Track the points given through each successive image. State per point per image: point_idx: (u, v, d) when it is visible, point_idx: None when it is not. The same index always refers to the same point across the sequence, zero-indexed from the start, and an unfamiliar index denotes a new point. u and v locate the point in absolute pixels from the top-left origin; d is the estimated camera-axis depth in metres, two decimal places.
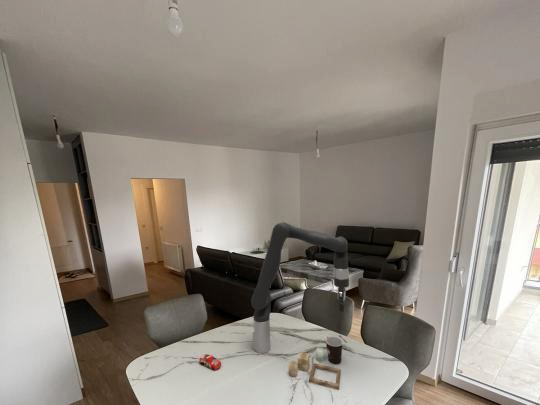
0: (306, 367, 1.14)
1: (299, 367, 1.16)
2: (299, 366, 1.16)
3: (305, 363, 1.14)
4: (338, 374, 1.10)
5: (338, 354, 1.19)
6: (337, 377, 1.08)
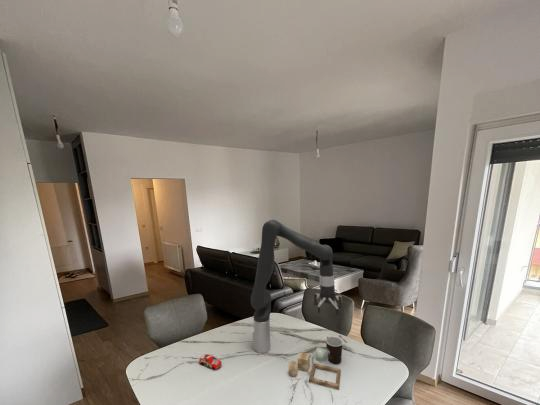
0: (306, 367, 1.14)
1: (299, 367, 1.16)
2: (299, 366, 1.16)
3: (305, 363, 1.14)
4: (338, 374, 1.10)
5: (338, 354, 1.19)
6: (337, 377, 1.08)
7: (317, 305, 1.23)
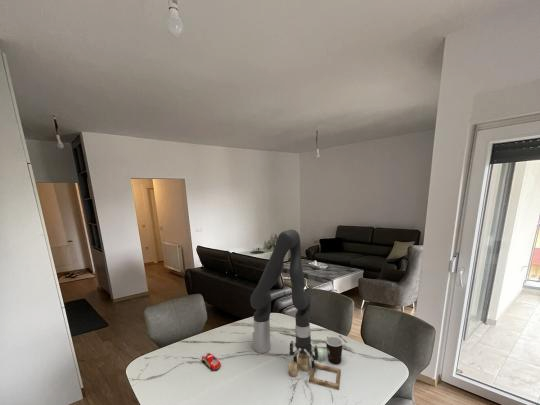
0: (306, 367, 1.14)
1: (299, 367, 1.16)
2: (299, 366, 1.16)
3: (305, 363, 1.14)
4: (338, 374, 1.10)
5: (338, 354, 1.19)
6: (337, 377, 1.08)
7: (293, 355, 1.18)
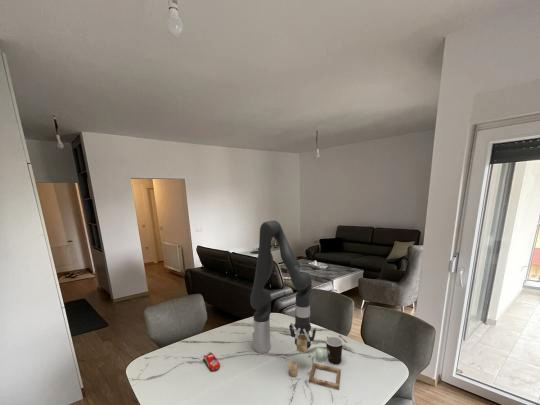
0: (305, 348, 1.15)
1: (298, 348, 1.16)
2: (298, 347, 1.16)
3: (304, 344, 1.15)
4: (338, 374, 1.10)
5: (338, 354, 1.19)
6: (337, 377, 1.08)
7: (294, 337, 1.18)
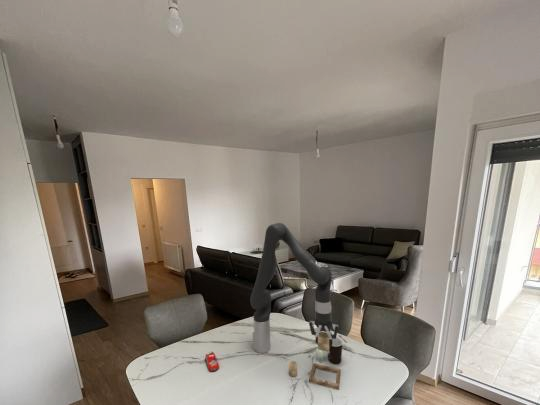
0: (327, 346, 1.08)
1: (319, 346, 1.09)
2: (319, 345, 1.09)
3: (326, 342, 1.08)
4: (338, 374, 1.10)
5: (338, 354, 1.19)
6: (337, 377, 1.08)
7: (315, 335, 1.11)
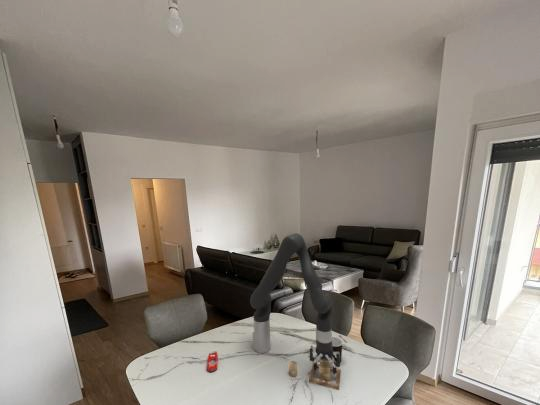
0: (328, 376, 1.08)
1: (321, 376, 1.09)
2: (321, 375, 1.09)
3: (327, 372, 1.08)
4: (338, 374, 1.10)
5: None
6: (337, 377, 1.08)
7: (313, 361, 1.12)
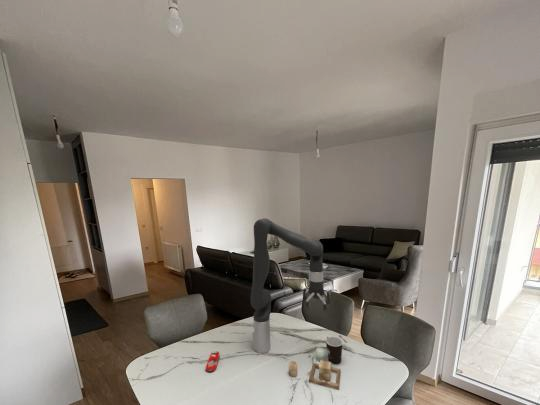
0: (328, 376, 1.08)
1: (321, 376, 1.09)
2: (321, 375, 1.09)
3: (327, 372, 1.08)
4: (338, 374, 1.10)
5: (338, 354, 1.19)
6: (337, 377, 1.08)
7: (306, 300, 1.25)
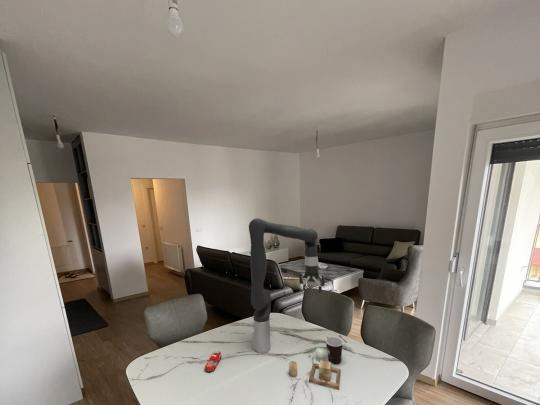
0: (328, 376, 1.08)
1: (321, 376, 1.09)
2: (321, 375, 1.09)
3: (327, 372, 1.08)
4: (338, 374, 1.10)
5: (338, 354, 1.19)
6: (337, 377, 1.08)
7: (302, 283, 1.35)
